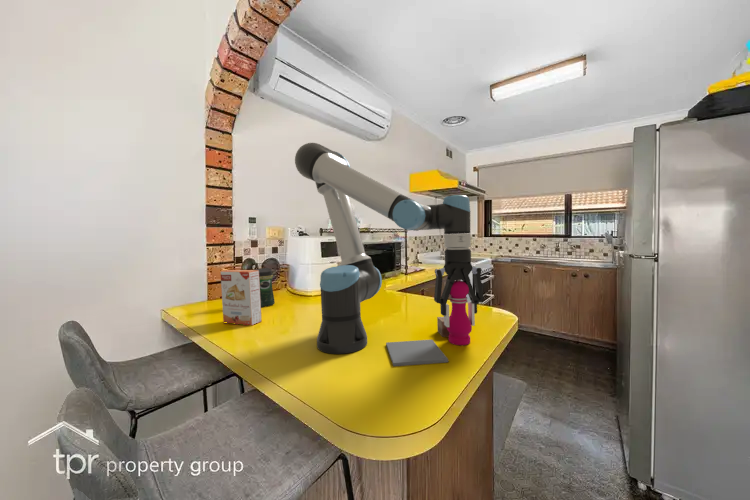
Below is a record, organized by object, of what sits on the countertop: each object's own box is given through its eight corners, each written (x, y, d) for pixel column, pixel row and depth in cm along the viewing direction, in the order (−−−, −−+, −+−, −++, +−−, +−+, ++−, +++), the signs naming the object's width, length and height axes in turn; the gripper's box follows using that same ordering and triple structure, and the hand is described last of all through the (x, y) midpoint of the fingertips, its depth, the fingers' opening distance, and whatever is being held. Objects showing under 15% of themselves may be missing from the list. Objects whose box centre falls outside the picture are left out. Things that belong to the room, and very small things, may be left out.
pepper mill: (473, 346, 82) (472, 277, 81) (447, 345, 84) (446, 277, 83) (470, 337, 89) (469, 273, 88) (446, 336, 91) (445, 273, 90)
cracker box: (222, 324, 113) (219, 271, 112) (234, 319, 118) (231, 269, 118) (251, 326, 108) (248, 271, 107) (262, 321, 114) (259, 269, 113)
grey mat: (393, 366, 71) (393, 363, 71) (386, 345, 85) (386, 342, 85) (448, 362, 73) (448, 359, 73) (432, 342, 86) (432, 339, 86)
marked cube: (442, 337, 91) (442, 321, 90) (437, 331, 96) (437, 316, 96) (457, 336, 91) (457, 320, 91) (452, 331, 96) (451, 315, 96)
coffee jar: (271, 302, 148) (269, 266, 147) (276, 305, 142) (274, 268, 141) (251, 305, 143) (249, 268, 142) (255, 308, 136) (253, 269, 135)
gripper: (428, 250, 80) (430, 331, 81) (496, 247, 82) (497, 326, 83) (421, 249, 88) (423, 323, 89) (483, 246, 90) (485, 319, 91)
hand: (459, 324), depth 86 cm, fingers closed on pepper mill, 7 cm apart
